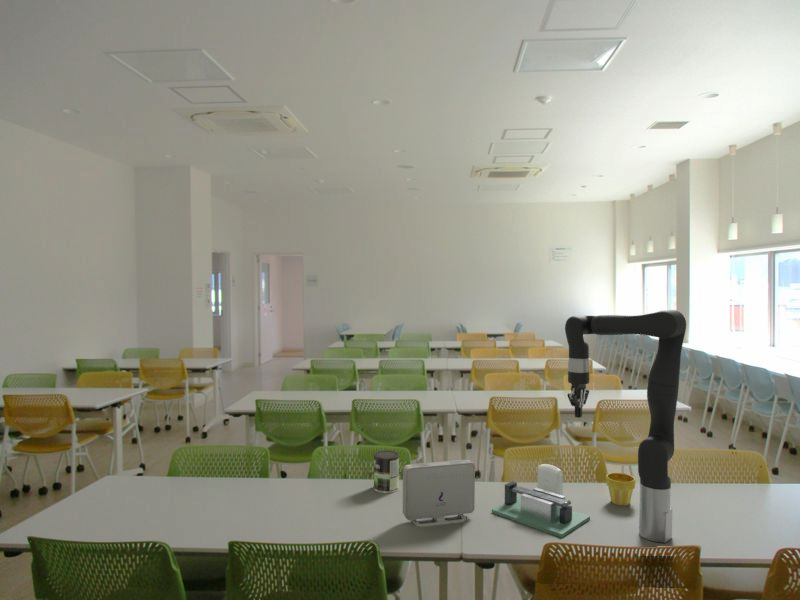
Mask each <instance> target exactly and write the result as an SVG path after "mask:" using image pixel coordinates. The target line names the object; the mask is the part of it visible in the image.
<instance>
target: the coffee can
mask: <svg viewBox="0 0 800 600" xmlns="http://www.w3.org/2000/svg"><path fill="white" fill-rule="evenodd" d="M399 459H400V454H399V453H398V452H397V451H394V450H378V451H376V452H374V453H373V490H374V491H375V492H377V493H380V494H391V493H396V492H398V490H399V480H400V479H399V475H400V473H399V472H400V471H399V470H400V469H399V466H400V465H399V464H400V463H399V462H400V460H399Z"/></svg>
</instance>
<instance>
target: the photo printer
mask: <svg viewBox="0 0 800 600" xmlns="http://www.w3.org/2000/svg"><path fill="white" fill-rule="evenodd" d="M563 473H564V472H563V471H562V470H561V469H560V468H558V467H557V466H555V465H552V464H549V463H548V464H547V463H542V464H539V465H538V467H537V488H539V489H542V490H545V491H549V492H552V493H555V494H559V495H562V496H564V495H563V494H564V493H563V481H564V480H563V478H564V477H563V476H564V475H563Z"/></svg>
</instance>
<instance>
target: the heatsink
mask: <svg viewBox="0 0 800 600" xmlns="http://www.w3.org/2000/svg"><path fill="white" fill-rule="evenodd" d="M517 486H518V482H516V481H513V480H512V481H509V482H508V483H506V484H504V503H505V504H506V505H511V504H513V503H515V502H517V497H518V493H516V492H513V491H512V489H513V488H515V487H517ZM532 490H533V491H537V492H540V493H543V494H547V495H550V496H553V497H557V498H560V499H563V500H566V496H565V495H563V496H562V495H559V494H555V493H552V492H549V491H545V490H542V489H539V488H538V487H534V488H532ZM520 495H521V513H523V514H526V515H529V516H532V517H535V518H537V519H540V520H543V521H546V522H549V523H551V522H553V521H555V520H557V519H558V518H560V523H562V524H566V523H568V522H570V521H571V520H572V511H573V506H572V505H568V506H567V507H565V508H562V507H561V506H557V505H554V503H552V502H549V501H546V500H543V499H539V498H536V497H533V496H530V495H527V494H520Z"/></svg>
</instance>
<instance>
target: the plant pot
mask: <svg viewBox="0 0 800 600" xmlns="http://www.w3.org/2000/svg"><path fill="white" fill-rule="evenodd" d="M605 483H606V485H607V487H608V490H609V497H610V501H611V503H612V504H614V505H618V506H628V505H630V504H631V500H632V499H631V498H632V496H633V492H634V491H633V490H634V489H635V488H636V478H635V477H634V476H633V475H631V474H628V473H623V472H622V473H621V472H610V473H607V474H606V475H605Z"/></svg>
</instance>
